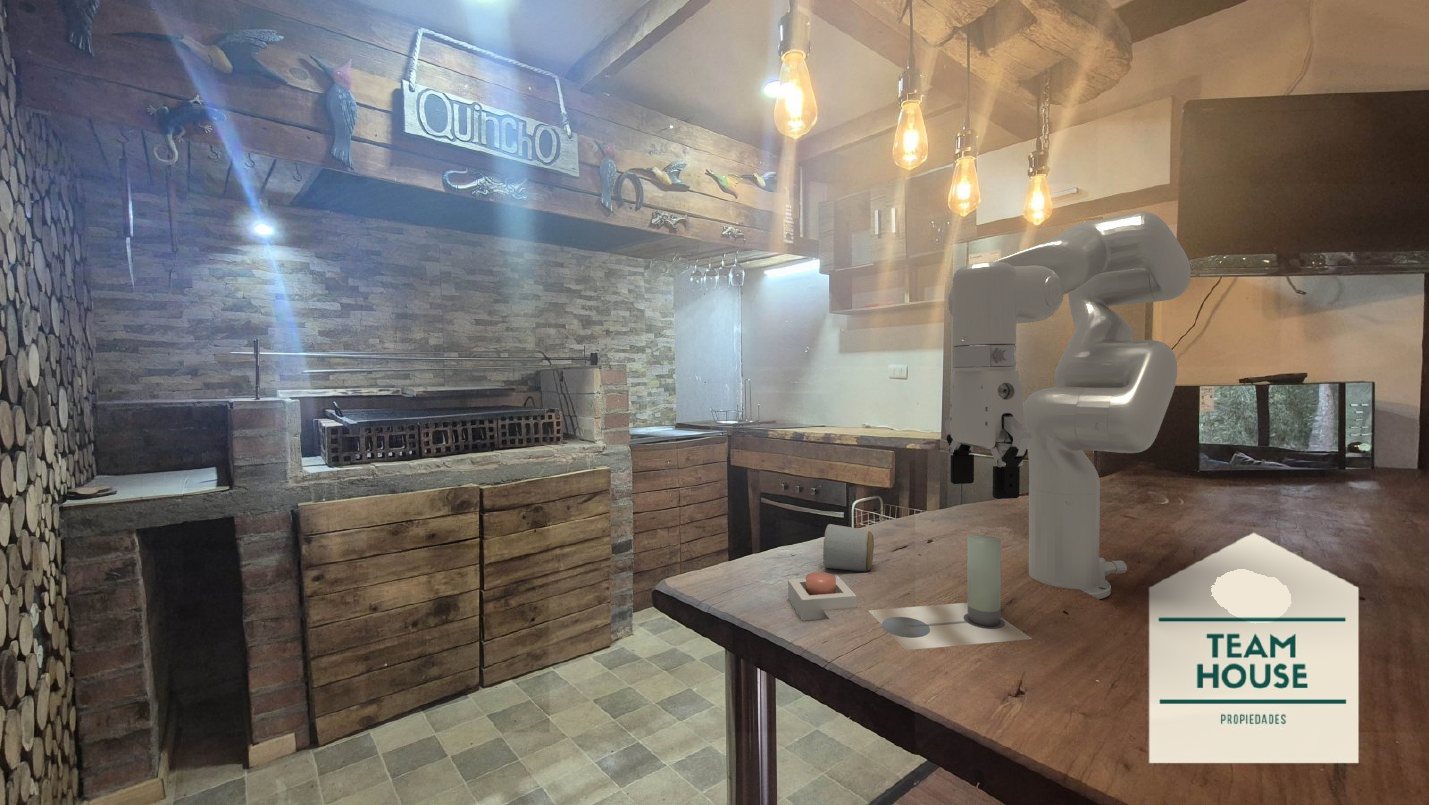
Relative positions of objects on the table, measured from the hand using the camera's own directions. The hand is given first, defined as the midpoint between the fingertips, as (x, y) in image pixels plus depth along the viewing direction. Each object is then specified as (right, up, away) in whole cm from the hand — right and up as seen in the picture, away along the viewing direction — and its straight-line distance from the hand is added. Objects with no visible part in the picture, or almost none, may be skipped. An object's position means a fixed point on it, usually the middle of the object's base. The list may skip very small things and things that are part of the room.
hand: (982, 490), depth 75 cm
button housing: (-19, -19, +10) cm, 29 cm away
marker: (+1, -18, +1) cm, 18 cm away
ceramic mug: (-11, -18, +27) cm, 35 cm away
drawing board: (-5, -19, +1) cm, 20 cm away
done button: (-19, -17, +10) cm, 27 cm away
